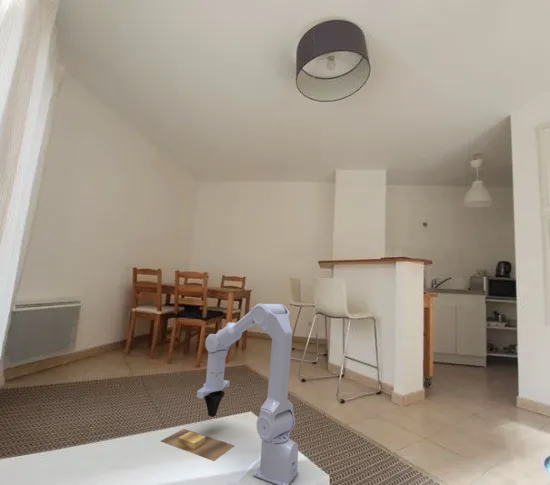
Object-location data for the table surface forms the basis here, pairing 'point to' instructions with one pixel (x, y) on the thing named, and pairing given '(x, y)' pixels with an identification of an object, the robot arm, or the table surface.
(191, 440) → the tile
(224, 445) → the deck
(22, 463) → the table surface
